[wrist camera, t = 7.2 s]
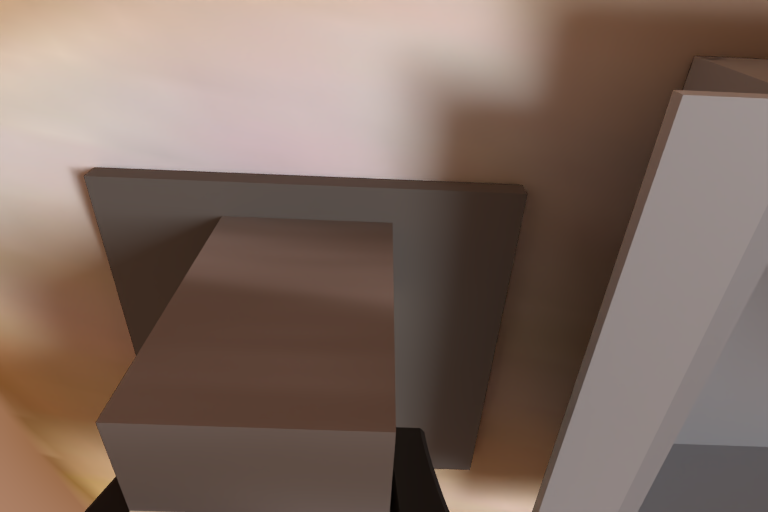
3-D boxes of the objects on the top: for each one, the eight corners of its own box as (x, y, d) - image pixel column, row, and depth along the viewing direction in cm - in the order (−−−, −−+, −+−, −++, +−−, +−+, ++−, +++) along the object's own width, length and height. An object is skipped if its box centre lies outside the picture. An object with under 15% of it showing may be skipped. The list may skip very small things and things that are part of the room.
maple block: (379, 444, 16) (376, 677, 11) (254, 440, 16) (191, 672, 11) (392, 222, 12) (395, 431, 7) (222, 215, 12) (95, 422, 7)
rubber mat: (468, 456, 17) (469, 469, 17) (172, 447, 17) (166, 460, 17) (522, 184, 12) (527, 194, 11) (94, 167, 12) (83, 176, 11)
